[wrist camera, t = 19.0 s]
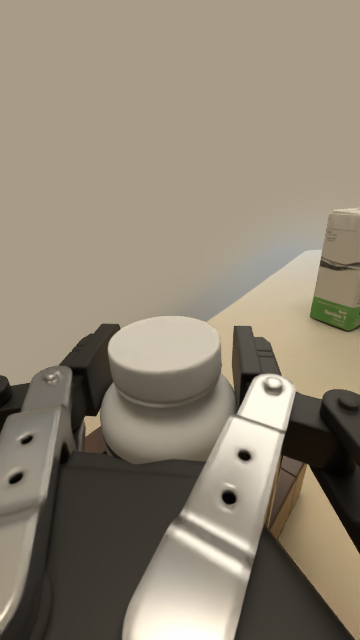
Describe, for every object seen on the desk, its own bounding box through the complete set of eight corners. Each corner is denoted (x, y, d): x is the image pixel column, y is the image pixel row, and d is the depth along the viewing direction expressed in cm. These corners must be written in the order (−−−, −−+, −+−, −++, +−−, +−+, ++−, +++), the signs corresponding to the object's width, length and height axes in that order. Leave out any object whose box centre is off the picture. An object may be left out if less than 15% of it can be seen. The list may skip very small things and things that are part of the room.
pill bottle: (182, 443, 17) (175, 298, 13) (253, 511, 14) (276, 338, 9) (102, 502, 14) (61, 337, 10) (167, 611, 10) (143, 419, 6)
